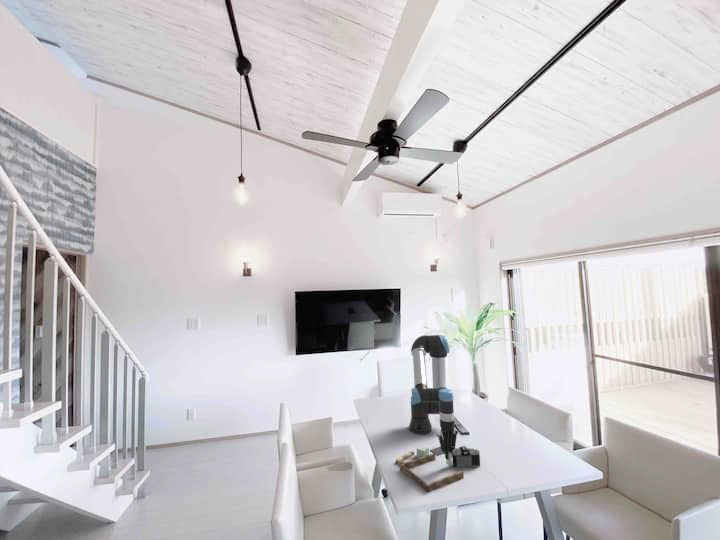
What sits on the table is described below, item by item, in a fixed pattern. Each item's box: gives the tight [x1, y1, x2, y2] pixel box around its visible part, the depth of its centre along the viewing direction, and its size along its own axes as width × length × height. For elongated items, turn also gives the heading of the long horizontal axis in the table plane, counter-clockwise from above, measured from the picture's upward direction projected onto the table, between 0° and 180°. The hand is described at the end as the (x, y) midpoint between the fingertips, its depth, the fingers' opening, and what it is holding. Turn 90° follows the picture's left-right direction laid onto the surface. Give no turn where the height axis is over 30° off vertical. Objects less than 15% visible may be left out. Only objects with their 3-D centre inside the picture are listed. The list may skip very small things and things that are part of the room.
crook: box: [395, 450, 415, 466], centre depth 186 cm, size 14×7×2 cm, turn 132°
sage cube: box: [416, 445, 430, 459], centre depth 190 cm, size 5×5×5 cm
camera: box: [451, 445, 481, 468], centre depth 181 cm, size 16×9×10 cm, turn 89°
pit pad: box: [429, 446, 445, 457], centre depth 195 cm, size 8×7×1 cm
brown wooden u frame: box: [399, 452, 464, 493], centre depth 172 cm, size 23×22×3 cm
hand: (448, 464), depth 178 cm, fingers closed
